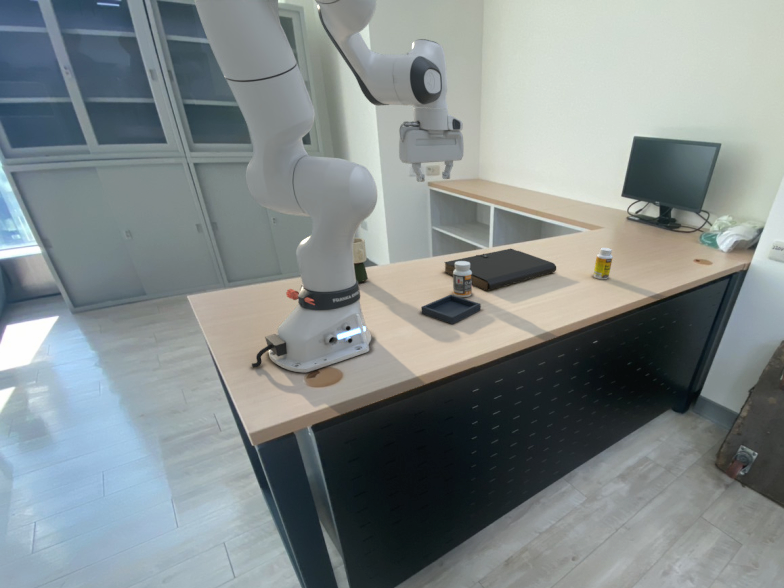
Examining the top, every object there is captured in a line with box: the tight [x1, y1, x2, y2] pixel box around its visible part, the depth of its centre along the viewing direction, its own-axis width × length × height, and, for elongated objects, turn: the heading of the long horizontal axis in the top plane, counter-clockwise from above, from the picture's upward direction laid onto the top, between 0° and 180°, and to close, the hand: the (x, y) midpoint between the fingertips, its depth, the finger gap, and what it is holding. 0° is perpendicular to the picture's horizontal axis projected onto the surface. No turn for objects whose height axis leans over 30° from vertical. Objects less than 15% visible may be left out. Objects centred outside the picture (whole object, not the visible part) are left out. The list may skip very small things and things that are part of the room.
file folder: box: [443, 248, 557, 292], centre depth 145 cm, size 33×4×24 cm
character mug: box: [353, 237, 369, 283], centre depth 128 cm, size 11×7×13 cm, turn 46°
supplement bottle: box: [592, 247, 613, 280], centre depth 145 cm, size 6×6×10 cm
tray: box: [420, 294, 482, 325], centre depth 114 cm, size 13×11×2 cm
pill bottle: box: [452, 261, 473, 298], centre depth 123 cm, size 6×6×10 cm
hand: (433, 180), depth 113 cm, fingers open, 8 cm apart
